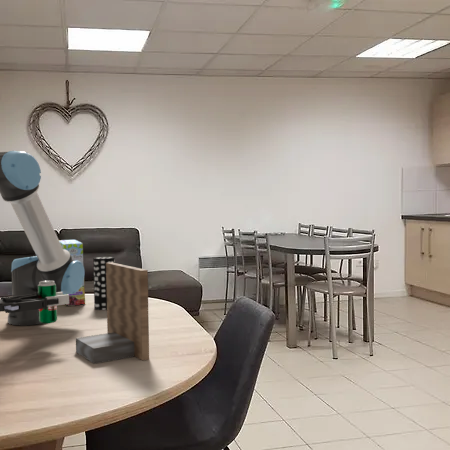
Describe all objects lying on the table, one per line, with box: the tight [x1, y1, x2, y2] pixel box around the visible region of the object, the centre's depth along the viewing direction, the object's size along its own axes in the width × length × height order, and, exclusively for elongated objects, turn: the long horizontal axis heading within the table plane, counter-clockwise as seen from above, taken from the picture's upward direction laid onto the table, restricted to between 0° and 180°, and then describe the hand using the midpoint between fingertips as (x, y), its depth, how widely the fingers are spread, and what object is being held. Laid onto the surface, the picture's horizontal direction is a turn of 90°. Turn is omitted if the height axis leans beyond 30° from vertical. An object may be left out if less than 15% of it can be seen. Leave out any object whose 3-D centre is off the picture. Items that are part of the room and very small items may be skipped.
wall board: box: [75, 262, 150, 364], centre depth 157 cm, size 24×14×24 cm, turn 34°
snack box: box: [58, 239, 86, 306], centre depth 241 cm, size 22×9×26 cm, turn 23°
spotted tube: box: [92, 256, 116, 311], centre depth 225 cm, size 8×8×20 cm
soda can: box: [38, 280, 58, 325], centre depth 166 cm, size 5×5×12 cm
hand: (65, 297), depth 169 cm, fingers closed on soda can, 5 cm apart
